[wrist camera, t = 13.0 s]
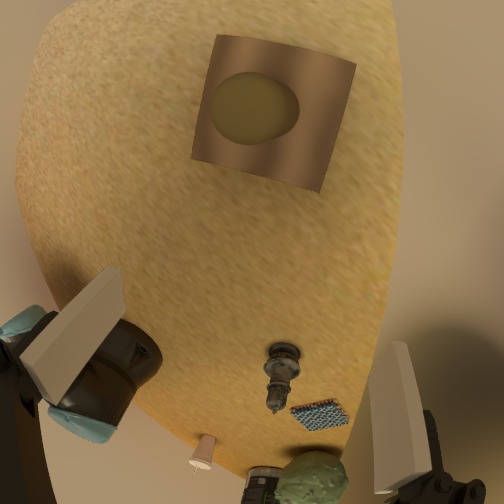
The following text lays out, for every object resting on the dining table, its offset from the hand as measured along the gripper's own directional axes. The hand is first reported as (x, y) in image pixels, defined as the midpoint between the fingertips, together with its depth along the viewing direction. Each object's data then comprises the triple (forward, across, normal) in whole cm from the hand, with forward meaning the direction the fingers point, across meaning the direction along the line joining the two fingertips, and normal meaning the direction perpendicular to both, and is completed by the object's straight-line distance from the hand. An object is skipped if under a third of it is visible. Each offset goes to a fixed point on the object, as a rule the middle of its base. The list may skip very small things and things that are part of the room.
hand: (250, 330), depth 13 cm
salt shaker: (+24, +6, -26) cm, 36 cm away
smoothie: (+24, -3, -71) cm, 75 cm away
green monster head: (+24, +26, -65) cm, 74 cm away
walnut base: (+24, -4, +9) cm, 25 cm away
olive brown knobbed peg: (+20, -4, +9) cm, 22 cm away
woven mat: (+24, +19, -43) cm, 53 cm away
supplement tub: (+24, +20, -91) cm, 96 cm away
